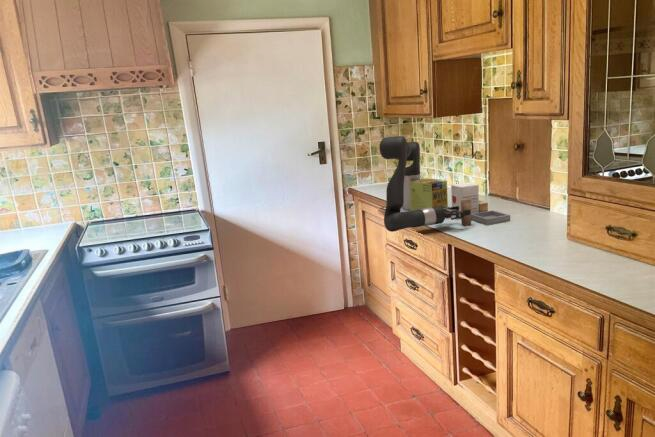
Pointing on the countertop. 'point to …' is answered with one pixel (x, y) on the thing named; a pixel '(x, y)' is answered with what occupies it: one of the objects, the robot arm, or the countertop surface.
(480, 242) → the countertop surface
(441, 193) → the protein box
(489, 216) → the tray
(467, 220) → the dowel
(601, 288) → the countertop surface
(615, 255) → the countertop surface
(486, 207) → the stop block
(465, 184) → the supplement box
